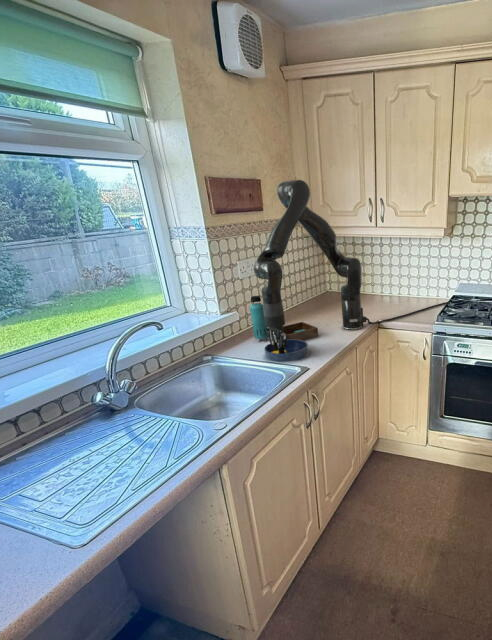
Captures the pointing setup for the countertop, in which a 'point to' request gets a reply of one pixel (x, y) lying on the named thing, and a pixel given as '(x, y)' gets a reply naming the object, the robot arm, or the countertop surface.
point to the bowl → (288, 351)
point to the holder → (302, 335)
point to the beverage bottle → (258, 318)
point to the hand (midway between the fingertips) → (279, 354)
